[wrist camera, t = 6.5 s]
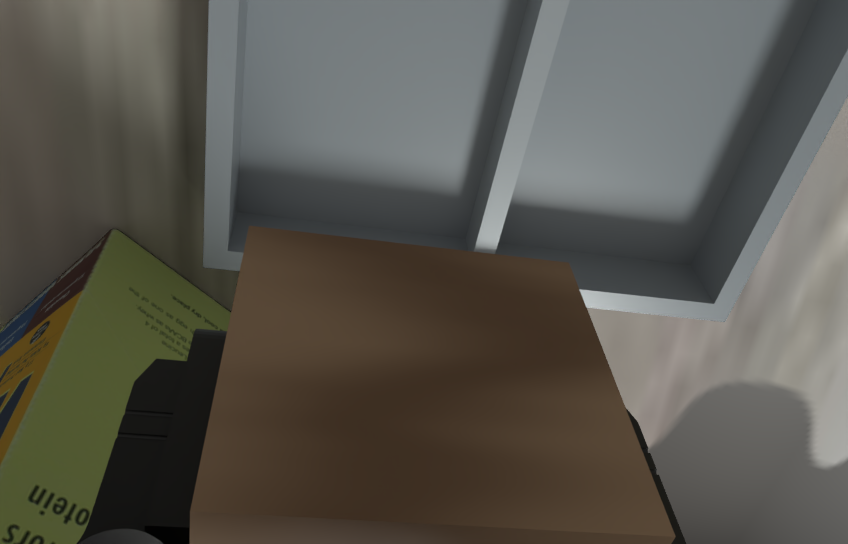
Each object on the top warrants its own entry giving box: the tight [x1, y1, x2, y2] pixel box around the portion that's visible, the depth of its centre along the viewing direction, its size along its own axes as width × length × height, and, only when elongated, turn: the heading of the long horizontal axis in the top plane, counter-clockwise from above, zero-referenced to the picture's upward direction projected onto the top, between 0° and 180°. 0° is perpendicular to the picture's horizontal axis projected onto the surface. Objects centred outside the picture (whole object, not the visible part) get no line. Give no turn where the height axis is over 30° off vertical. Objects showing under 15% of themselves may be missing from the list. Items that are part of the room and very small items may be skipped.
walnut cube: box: [190, 226, 676, 544], centre depth 11 cm, size 5×5×5 cm
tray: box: [203, 0, 848, 322], centre depth 25 cm, size 20×15×3 cm
